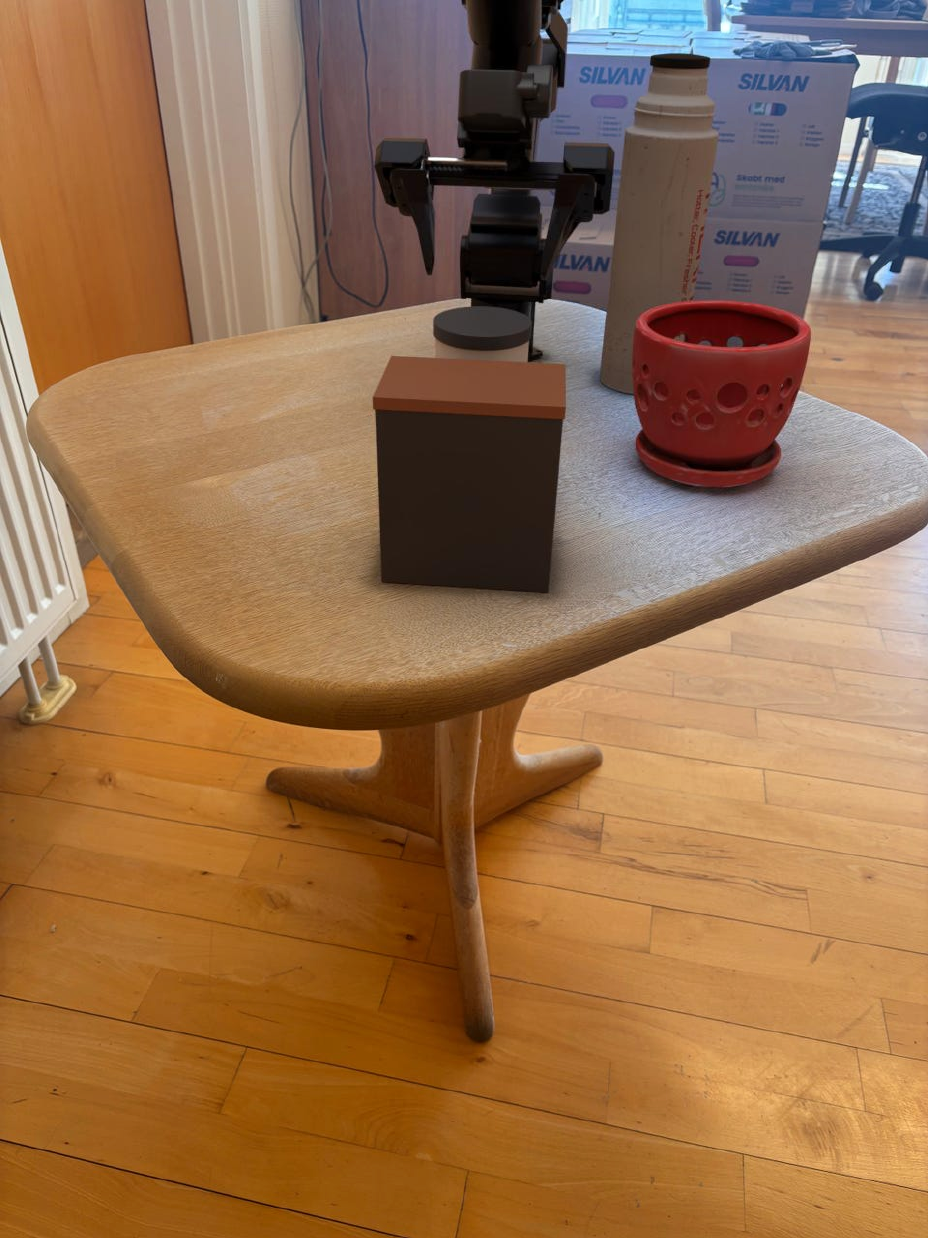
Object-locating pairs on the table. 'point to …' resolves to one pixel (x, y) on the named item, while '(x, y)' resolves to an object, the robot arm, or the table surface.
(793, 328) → the flower pot
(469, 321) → the container
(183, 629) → the table surface
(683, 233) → the thermos bottle
